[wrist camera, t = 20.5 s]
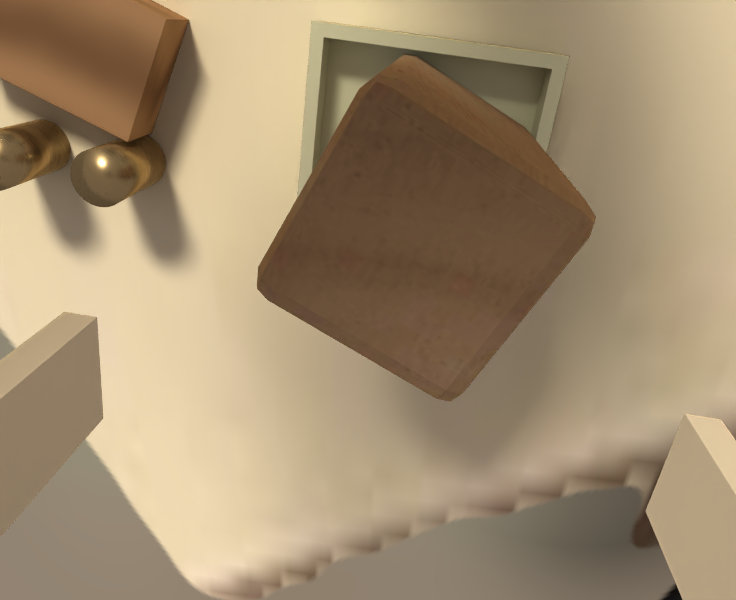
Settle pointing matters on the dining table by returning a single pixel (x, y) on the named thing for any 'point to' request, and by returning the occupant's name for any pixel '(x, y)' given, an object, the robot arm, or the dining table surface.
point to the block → (425, 230)
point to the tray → (452, 57)
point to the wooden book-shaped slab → (93, 57)
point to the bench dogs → (79, 162)
